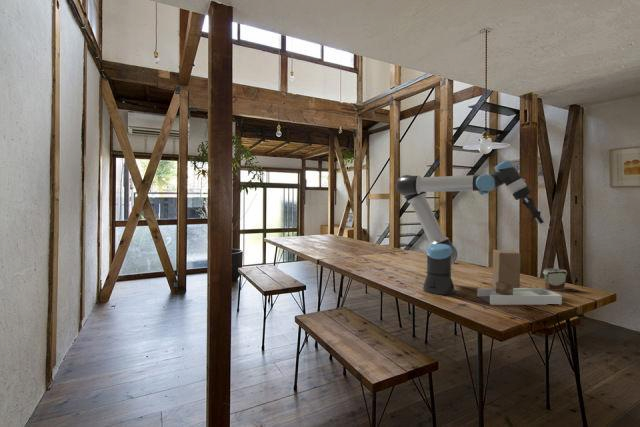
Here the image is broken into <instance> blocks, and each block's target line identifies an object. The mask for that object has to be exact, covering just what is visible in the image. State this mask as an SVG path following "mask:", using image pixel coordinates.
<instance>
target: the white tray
mask: <svg viewBox="0 0 640 427" xmlns="http://www.w3.org/2000/svg"><path fill="white" fill-rule="evenodd" d="M476 290H477V291H476V292H477V294H476V296H477V298H479V299H481V300H483V301H484V302H485V303H488V304H489V305H490V306H491V305H493V306H497V305H498V306H499V305H502V306H505V305H506V306H509V305H510V306H511V305H513V306H514V305H517V306H519V305H522V306H525V305H528V306H529V305H533V306H534V305H542V306H544V305H547V304H559V305H562V303H563V296H562V295H561V294H559V293H556V292H553V291H552V290H547V289H545V288H543V287H540V288H539V287H537V288H536V287H529V288H527V287H524V288H522V287H520V288H513V295H500V294H498V293H496V288H494V287H493V288H492V287H491V288H490V287H488V288H487V287H480V288H479V287H478V288H477V289H476Z"/></svg>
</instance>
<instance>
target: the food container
mask: <svg viewBox="0 0 640 427" xmlns="http://www.w3.org/2000/svg"><path fill="white" fill-rule="evenodd" d="M542 274H543V275H544V285H545V286H544V287H545V288H544V289H546V290H549V291H557V290H559V291H561V290H565V288H566V281H567V280H566V278H567V275H568V272H567V270H566V269H561V268H544V269H543V271H542Z"/></svg>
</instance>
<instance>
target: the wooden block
mask: <svg viewBox="0 0 640 427" xmlns="http://www.w3.org/2000/svg"><path fill="white" fill-rule="evenodd" d="M521 261H522V260H521V253H520V252H518V251H516V250H512V249H504V250H503V249H493V250H492V276H491V279H492V280H491V286H492V287H493V288H496V282H508V283H510V284H512V285H513V288H521V287H520V285H521V284H520V283H521Z"/></svg>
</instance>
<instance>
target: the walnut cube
mask: <svg viewBox="0 0 640 427" xmlns="http://www.w3.org/2000/svg"><path fill="white" fill-rule="evenodd" d="M496 293H498V294H500V295H513V285H512V284H510V283H508V282H496Z"/></svg>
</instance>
